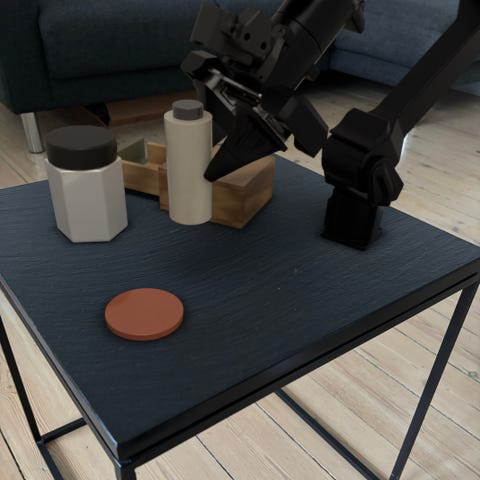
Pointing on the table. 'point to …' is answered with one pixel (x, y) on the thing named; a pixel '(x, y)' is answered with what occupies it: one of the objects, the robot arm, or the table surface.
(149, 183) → the drawer
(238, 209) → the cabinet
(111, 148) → the jar
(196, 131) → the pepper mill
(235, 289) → the table surface
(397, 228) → the table surface
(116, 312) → the disc
